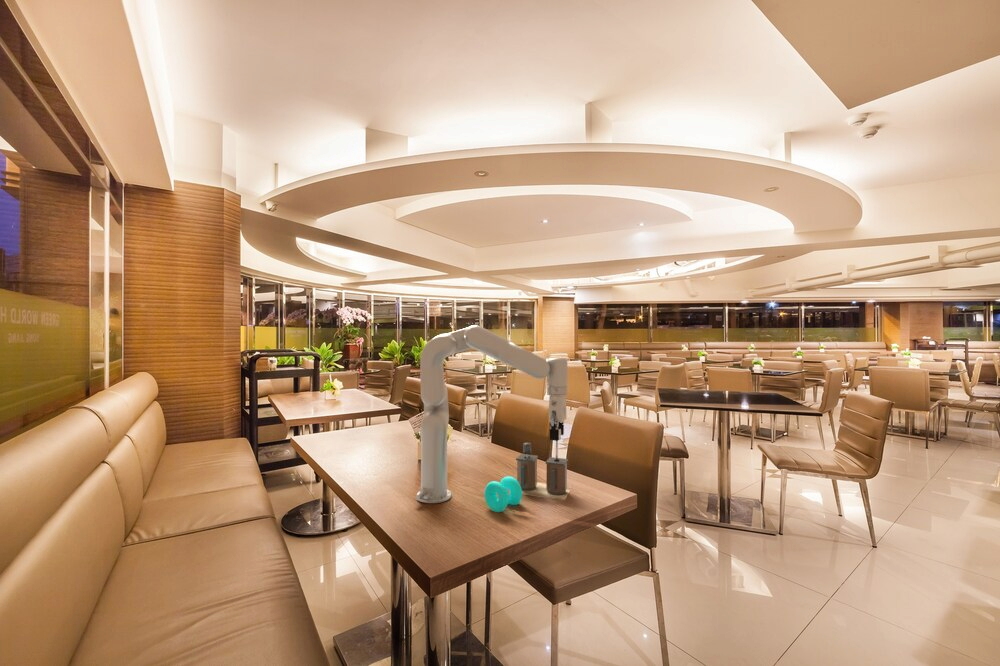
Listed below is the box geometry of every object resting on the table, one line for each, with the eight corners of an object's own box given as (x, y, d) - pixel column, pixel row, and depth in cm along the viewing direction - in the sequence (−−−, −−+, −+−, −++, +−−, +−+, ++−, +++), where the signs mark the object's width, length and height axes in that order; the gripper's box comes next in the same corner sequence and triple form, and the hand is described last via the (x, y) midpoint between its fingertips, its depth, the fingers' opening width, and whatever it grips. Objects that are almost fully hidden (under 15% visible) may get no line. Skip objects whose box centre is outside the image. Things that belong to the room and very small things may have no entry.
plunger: (561, 473, 151) (561, 431, 151) (548, 471, 153) (549, 429, 153) (564, 469, 156) (564, 428, 156) (551, 468, 158) (552, 427, 158)
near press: (562, 498, 148) (562, 466, 148) (543, 495, 150) (543, 463, 150) (567, 489, 156) (567, 458, 157) (549, 487, 159) (549, 456, 159)
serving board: (564, 503, 146) (564, 500, 146) (511, 495, 153) (511, 492, 153) (571, 489, 159) (571, 486, 159) (522, 483, 166) (522, 480, 166)
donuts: (523, 508, 142) (523, 479, 142) (503, 517, 135) (503, 486, 135) (502, 500, 149) (503, 472, 149) (482, 508, 142) (482, 479, 142)
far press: (531, 494, 152) (531, 448, 152) (513, 491, 154) (513, 446, 154) (538, 485, 160) (538, 442, 161) (520, 483, 163) (521, 440, 163)
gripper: (562, 394, 145) (562, 444, 145) (571, 388, 162) (571, 433, 161) (541, 393, 148) (541, 442, 148) (552, 387, 164) (552, 431, 164)
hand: (556, 437), depth 155 cm, fingers open, 8 cm apart
